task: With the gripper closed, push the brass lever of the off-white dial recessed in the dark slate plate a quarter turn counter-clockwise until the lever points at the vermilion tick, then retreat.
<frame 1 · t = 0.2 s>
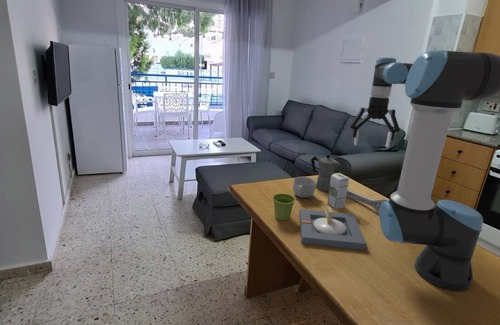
hand: (371, 145, 133), 28 cm above the table, fingers open, 13 cm apart
plant pot: (282, 217, 125), on the table
dial: (328, 230, 116), resting on dial housing, hinge at 0.0°
wrench: (363, 206, 139), on the table
coffeepot: (321, 187, 158), on the table
syrup box: (335, 206, 137), on the table
dial housing: (328, 230, 116), on the table
teacup: (301, 196, 145), on the table
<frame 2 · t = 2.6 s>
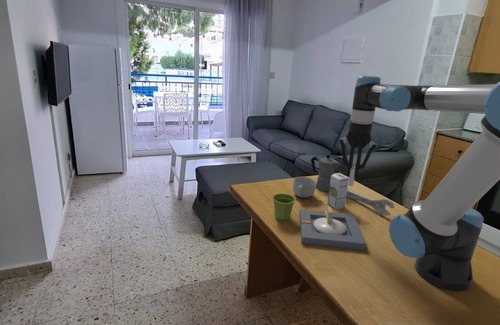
hand: (350, 184, 113), 18 cm above the table, fingers closed
nothing on the table moved.
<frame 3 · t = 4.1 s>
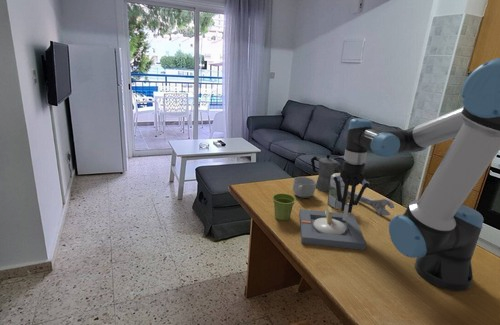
hand: (344, 219, 117), 4 cm above the table, fingers closed
nothing on the table moved.
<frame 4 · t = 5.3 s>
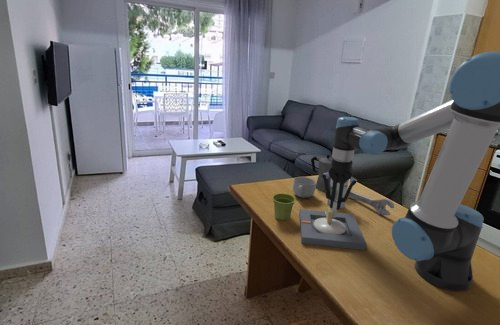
hand: (333, 216, 119), 4 cm above the table, fingers closed
dial: (328, 230, 116), resting on dial housing, hinge at 0.2°, touching gripper
everything else where it was.
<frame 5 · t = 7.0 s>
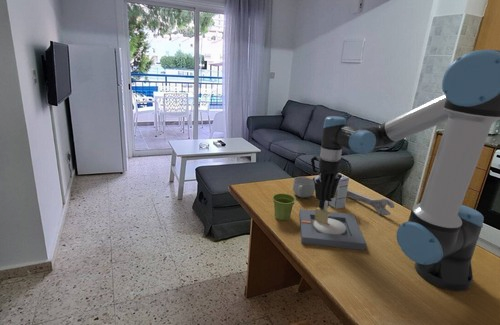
hand: (322, 215, 119), 4 cm above the table, fingers closed
dial: (328, 230, 116), resting on dial housing, hinge at 49.5°, touching gripper
everything else where it was.
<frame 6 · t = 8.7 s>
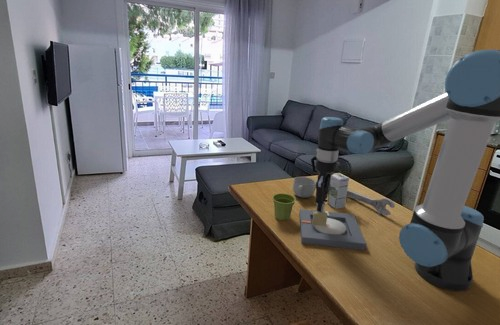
hand: (319, 217, 118), 4 cm above the table, fingers closed
dial: (328, 230, 116), resting on dial housing, hinge at 89.5°
everything else where it was.
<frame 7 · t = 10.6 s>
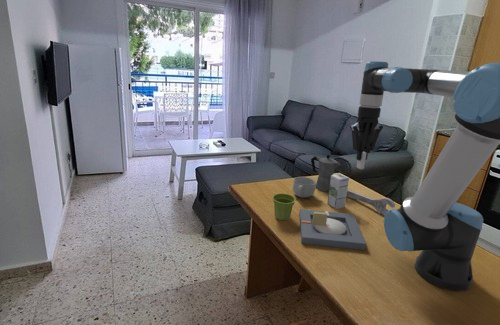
hand: (360, 168, 116), 23 cm above the table, fingers closed
nothing on the table moved.
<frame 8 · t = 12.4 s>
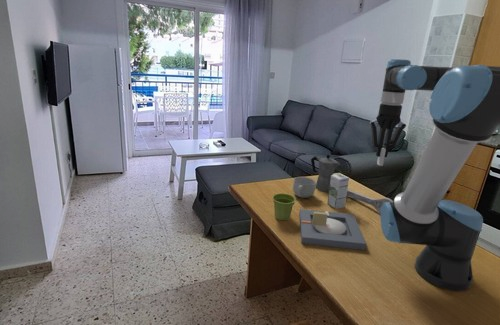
hand: (379, 164, 118), 24 cm above the table, fingers closed
nothing on the table moved.
at the end: dial at +90° (first picture: +0°) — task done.
